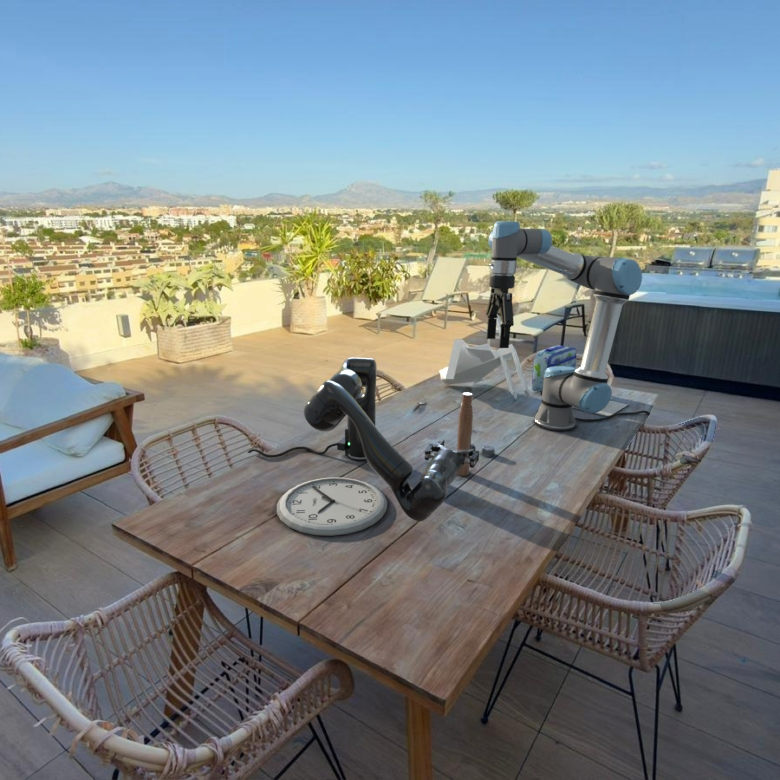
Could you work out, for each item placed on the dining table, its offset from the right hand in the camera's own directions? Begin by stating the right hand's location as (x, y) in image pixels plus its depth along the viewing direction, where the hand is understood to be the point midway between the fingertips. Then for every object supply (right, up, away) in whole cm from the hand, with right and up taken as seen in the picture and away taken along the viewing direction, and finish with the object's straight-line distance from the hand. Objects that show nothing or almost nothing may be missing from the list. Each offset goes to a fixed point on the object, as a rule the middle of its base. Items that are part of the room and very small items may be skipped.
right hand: (497, 343), depth 165 cm
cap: (-1, -35, +11) cm, 36 cm away
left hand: (-15, -30, -16) cm, 37 cm away
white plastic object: (+8, -16, +78) cm, 80 cm away
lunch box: (+43, -15, +83) cm, 95 cm away
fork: (-21, -22, +57) cm, 65 cm away
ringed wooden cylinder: (-11, -41, -2) cm, 42 cm away
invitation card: (+58, -22, +61) cm, 87 cm away
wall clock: (-50, -46, -22) cm, 71 cm away
